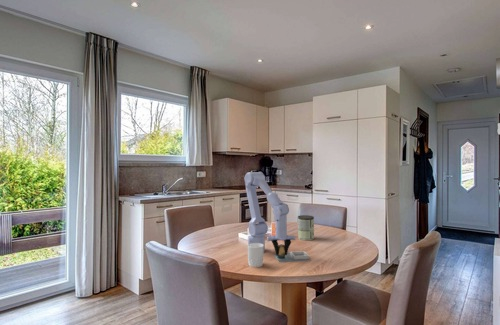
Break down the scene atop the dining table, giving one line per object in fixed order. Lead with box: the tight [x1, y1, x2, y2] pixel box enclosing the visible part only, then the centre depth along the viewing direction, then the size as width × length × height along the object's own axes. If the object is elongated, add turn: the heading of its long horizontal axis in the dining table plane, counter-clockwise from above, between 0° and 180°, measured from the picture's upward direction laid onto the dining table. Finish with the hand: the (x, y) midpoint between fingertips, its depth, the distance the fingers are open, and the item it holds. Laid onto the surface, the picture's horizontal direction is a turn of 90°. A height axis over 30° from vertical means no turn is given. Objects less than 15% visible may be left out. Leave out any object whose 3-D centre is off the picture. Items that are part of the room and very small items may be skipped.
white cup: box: [246, 243, 265, 268], centre depth 137 cm, size 8×8×10 cm
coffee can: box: [297, 214, 315, 241], centre depth 187 cm, size 10×10×14 cm
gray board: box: [273, 250, 312, 263], centre depth 147 cm, size 16×14×2 cm
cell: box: [277, 243, 285, 259], centre depth 147 cm, size 4×4×7 cm
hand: (281, 254), depth 147 cm, fingers closed on cell, 4 cm apart
